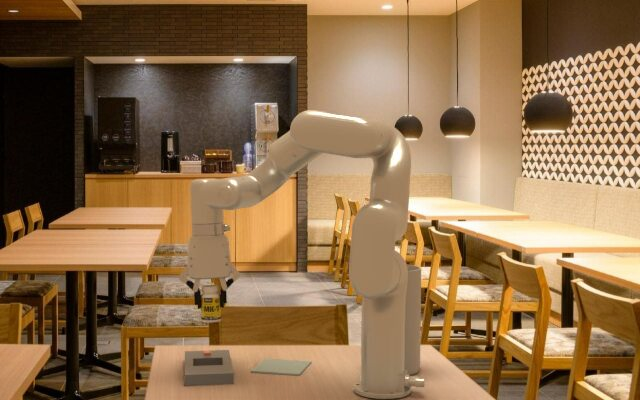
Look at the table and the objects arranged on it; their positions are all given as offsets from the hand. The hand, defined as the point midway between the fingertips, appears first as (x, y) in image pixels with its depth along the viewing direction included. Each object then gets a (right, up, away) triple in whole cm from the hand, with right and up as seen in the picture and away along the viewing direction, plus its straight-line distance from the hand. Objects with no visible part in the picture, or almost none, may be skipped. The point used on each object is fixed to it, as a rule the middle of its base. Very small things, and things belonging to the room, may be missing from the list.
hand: (210, 306), depth 201 cm
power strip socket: (-1, -16, +1) cm, 16 cm away
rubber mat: (+17, -16, +6) cm, 23 cm away
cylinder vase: (+44, -16, +3) cm, 47 cm away
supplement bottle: (0, -4, 0) cm, 4 cm away
